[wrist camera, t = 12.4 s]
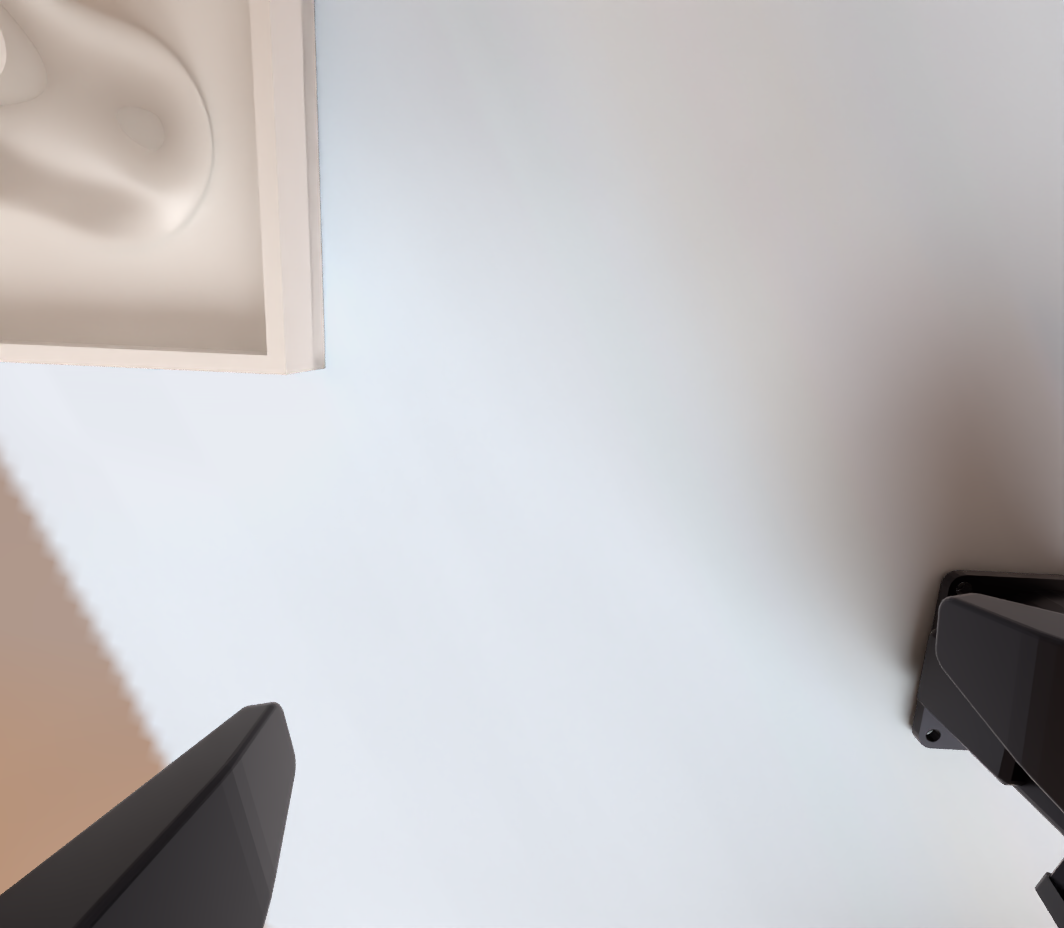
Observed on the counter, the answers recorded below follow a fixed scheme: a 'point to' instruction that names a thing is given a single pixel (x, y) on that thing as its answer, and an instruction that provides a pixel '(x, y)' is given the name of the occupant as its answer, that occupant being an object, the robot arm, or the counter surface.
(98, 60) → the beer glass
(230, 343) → the tray
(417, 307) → the counter surface
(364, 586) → the counter surface
